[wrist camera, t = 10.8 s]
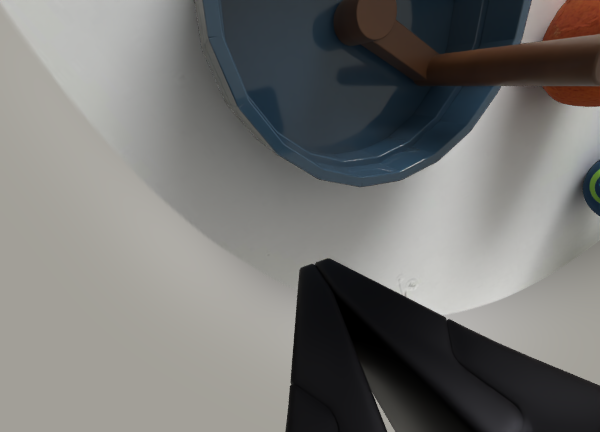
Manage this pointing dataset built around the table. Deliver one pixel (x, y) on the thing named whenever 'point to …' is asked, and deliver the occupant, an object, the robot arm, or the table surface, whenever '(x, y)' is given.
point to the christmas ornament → (593, 188)
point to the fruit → (566, 24)
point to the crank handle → (466, 53)
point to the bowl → (349, 82)
